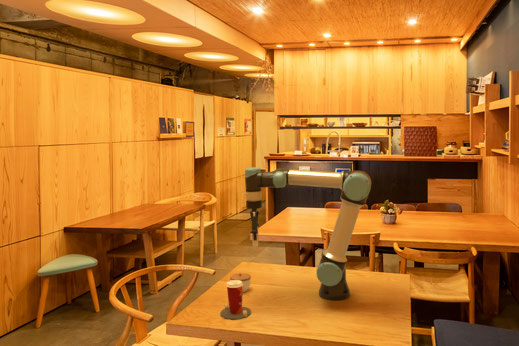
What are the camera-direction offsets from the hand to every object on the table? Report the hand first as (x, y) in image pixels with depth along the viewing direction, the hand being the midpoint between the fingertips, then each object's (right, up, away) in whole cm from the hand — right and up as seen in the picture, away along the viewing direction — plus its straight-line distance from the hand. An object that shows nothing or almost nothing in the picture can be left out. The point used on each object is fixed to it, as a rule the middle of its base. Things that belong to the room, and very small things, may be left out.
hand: (255, 243), depth 246 cm
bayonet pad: (-9, -31, -13) cm, 34 cm away
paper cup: (-9, -30, -12) cm, 34 cm away
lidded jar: (-8, -27, +18) cm, 34 cm away
